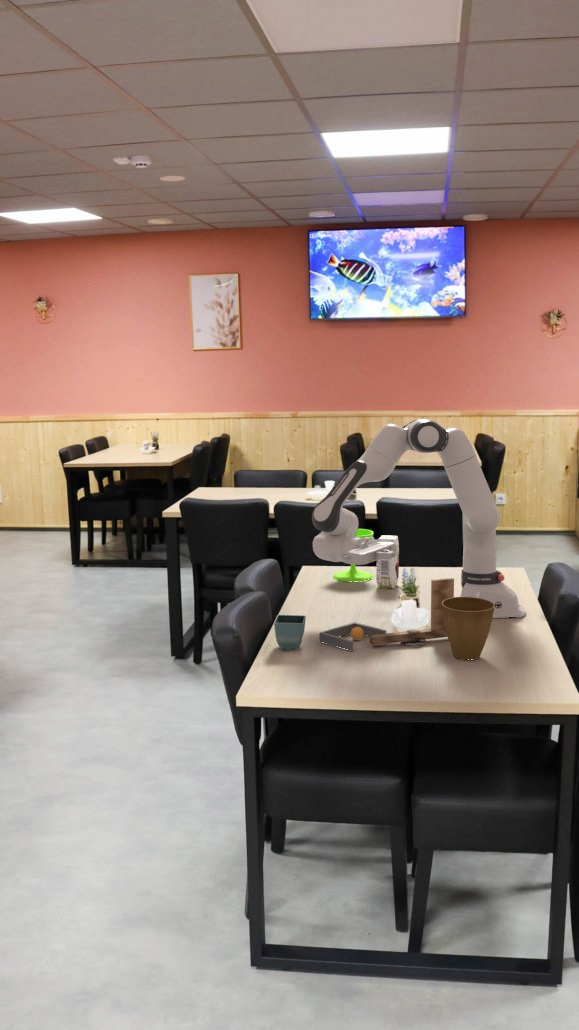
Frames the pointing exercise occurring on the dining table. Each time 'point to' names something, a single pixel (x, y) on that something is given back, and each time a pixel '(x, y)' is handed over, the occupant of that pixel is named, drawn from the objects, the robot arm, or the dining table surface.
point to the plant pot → (467, 625)
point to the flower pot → (289, 630)
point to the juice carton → (388, 566)
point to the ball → (357, 633)
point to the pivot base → (415, 643)
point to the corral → (333, 634)
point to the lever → (439, 592)
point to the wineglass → (353, 573)
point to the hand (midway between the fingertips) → (392, 555)
